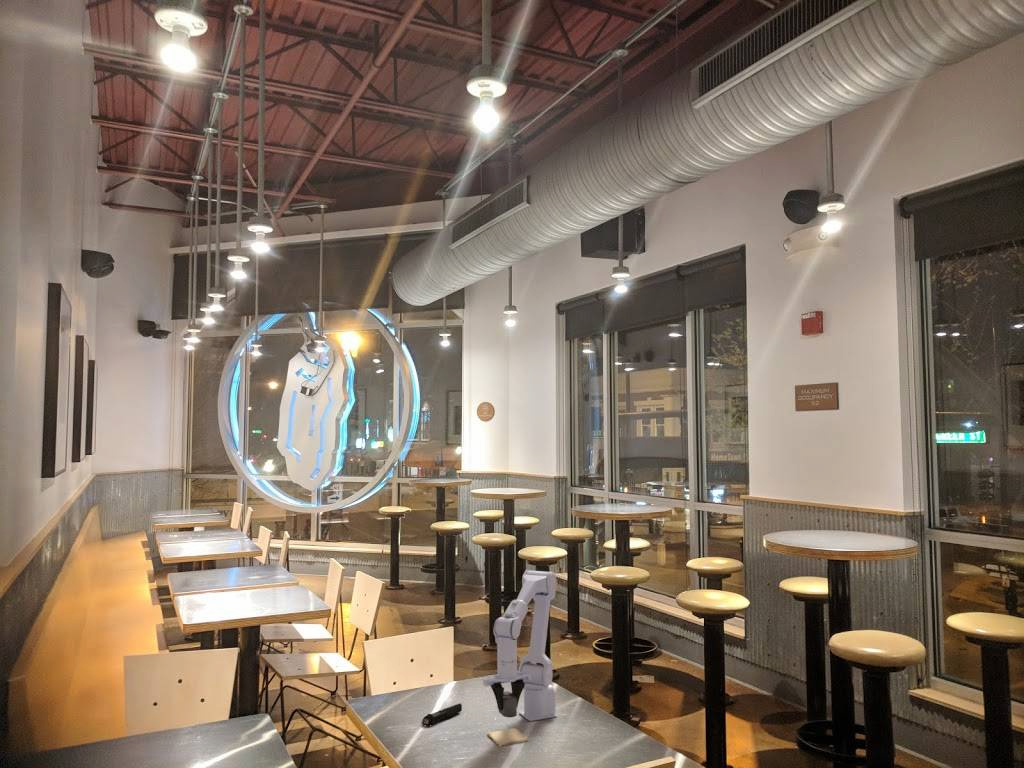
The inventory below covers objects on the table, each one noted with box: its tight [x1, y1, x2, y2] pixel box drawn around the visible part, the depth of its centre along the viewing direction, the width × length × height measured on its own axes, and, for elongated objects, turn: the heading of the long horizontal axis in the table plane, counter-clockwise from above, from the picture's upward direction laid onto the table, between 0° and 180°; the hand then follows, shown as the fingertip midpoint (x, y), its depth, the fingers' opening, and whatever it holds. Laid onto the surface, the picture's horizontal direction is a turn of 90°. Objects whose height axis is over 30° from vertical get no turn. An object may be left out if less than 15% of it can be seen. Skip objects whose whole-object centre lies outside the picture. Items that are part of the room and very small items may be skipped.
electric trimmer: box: [421, 703, 463, 727], centre depth 232 cm, size 4×16×3 cm, turn 140°
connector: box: [498, 691, 518, 718], centre depth 218 cm, size 9×4×5 cm, turn 24°
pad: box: [487, 727, 529, 747], centre depth 216 cm, size 9×9×1 cm
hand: (507, 708), depth 217 cm, fingers closed on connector, 4 cm apart
